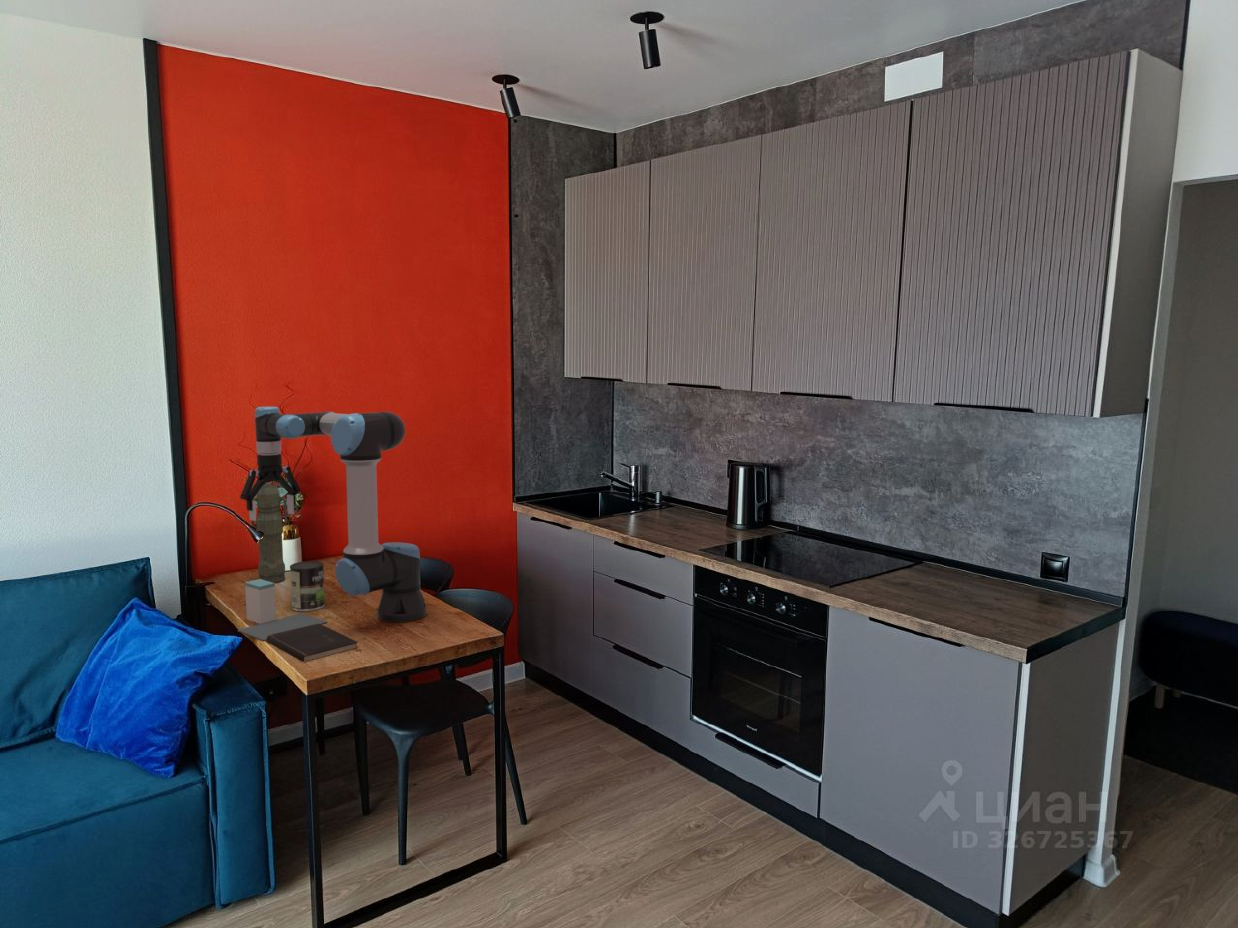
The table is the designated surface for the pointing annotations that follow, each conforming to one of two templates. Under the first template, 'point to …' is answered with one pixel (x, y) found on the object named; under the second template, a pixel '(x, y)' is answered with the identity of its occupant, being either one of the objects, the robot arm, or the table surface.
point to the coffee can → (307, 586)
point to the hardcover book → (311, 642)
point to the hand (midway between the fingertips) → (272, 517)
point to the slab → (260, 601)
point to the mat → (280, 626)
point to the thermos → (270, 533)
